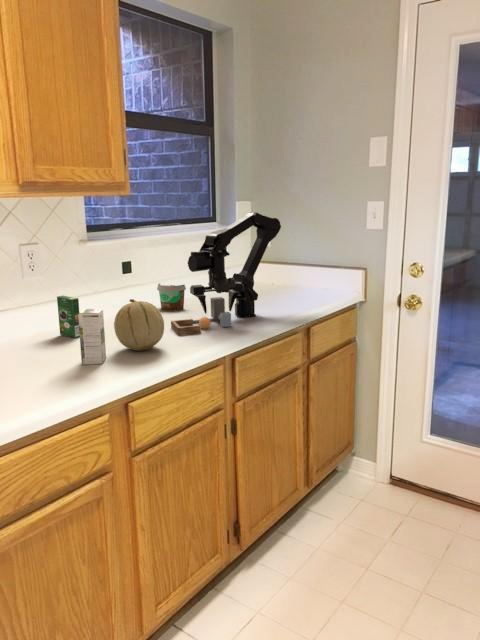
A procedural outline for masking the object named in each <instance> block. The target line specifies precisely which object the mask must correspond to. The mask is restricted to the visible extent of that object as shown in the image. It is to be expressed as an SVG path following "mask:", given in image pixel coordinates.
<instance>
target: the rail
mask: <svg viewBox="0 0 480 640" xmlns="http://www.w3.org/2000/svg"><path fill="white" fill-rule="evenodd" d="M200 319H201V318H200ZM200 319H193V325H195V324H196V325H197V324H199V320H200ZM209 319H210V322H211V323H213V322H215V323H216V322H220V319H214V318H212V317H211V318H210V317H209Z"/></svg>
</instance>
